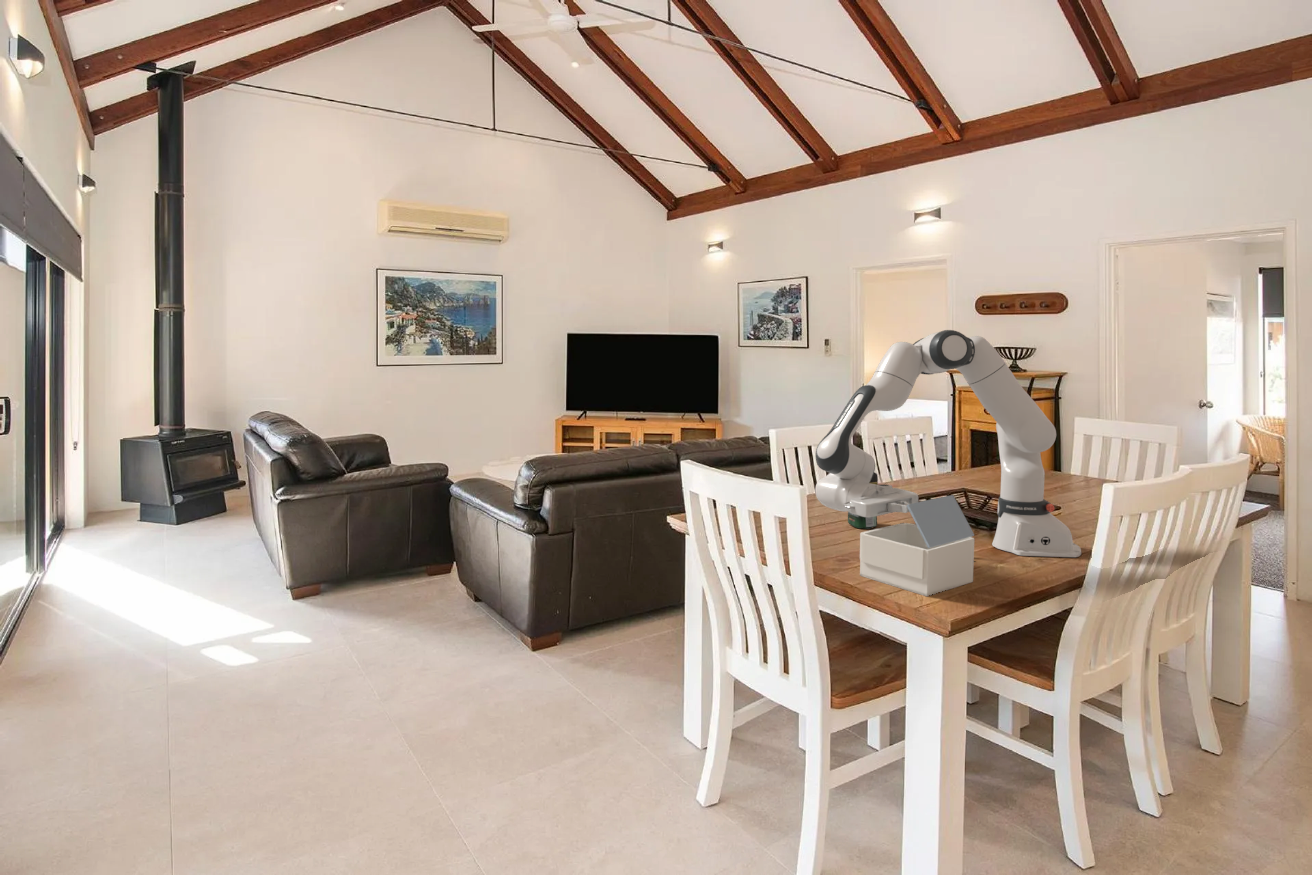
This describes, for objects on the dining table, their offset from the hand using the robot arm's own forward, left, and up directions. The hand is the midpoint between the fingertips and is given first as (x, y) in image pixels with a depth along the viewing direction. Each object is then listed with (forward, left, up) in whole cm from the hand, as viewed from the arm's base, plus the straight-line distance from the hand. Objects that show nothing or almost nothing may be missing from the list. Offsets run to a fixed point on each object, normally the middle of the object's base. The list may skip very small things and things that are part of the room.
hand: (910, 508), depth 192 cm
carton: (-2, +1, -17) cm, 18 cm away
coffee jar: (+17, -50, -18) cm, 56 cm away
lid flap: (-7, +5, -1) cm, 9 cm away
